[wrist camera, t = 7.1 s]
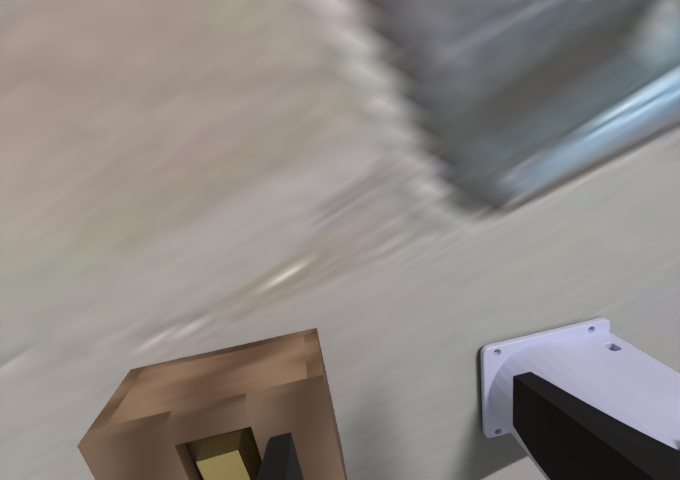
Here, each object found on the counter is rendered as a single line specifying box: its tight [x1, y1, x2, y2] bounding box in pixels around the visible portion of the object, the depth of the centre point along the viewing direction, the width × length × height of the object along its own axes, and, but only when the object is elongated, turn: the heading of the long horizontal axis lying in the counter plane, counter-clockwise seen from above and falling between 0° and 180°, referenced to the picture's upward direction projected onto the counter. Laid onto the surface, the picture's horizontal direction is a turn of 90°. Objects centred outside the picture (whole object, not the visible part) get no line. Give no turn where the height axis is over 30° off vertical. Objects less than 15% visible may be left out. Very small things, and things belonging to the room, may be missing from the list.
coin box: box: [77, 328, 347, 480], centre depth 18 cm, size 11×10×5 cm
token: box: [196, 427, 262, 480], centre depth 18 cm, size 2×5×4 cm, turn 12°
